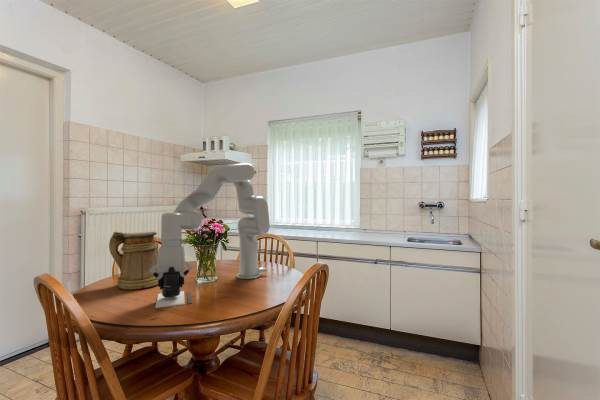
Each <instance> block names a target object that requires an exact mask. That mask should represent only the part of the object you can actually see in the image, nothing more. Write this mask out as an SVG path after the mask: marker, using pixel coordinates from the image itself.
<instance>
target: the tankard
mask: <svg viewBox="0 0 600 400" xmlns="http://www.w3.org/2000/svg"><path fill="white" fill-rule="evenodd" d="M156 235H158V234H157V232H156V231H144V232H122V231H114V232H113V233H112V234H111V237H110V240H109V244H108V248H109V252H110V254H111V257H112V258H113V260H114V262H115V263H116V264H117V266H118V269H119V272H120V274H119V276H118V278H117V287H118V288H119V289H120V290H139V289H140V290H142V289H146V288H152V287H154V286H158V279H157V278H156V277H155V276H154V275H153V274H152V273H151V272H150V271H149V270H150V268H152V267H153V266H154V265H155V264H156V263H157V262H158V253H157V247H158V244H157V241H156V238H155V237H154V236H156ZM120 245H122V246H121V251H122V253H121V252H120V250H119V246H120ZM154 270H155V272H157V273H158V274H159V273H160V272H158V269H157V268H156V269H154Z"/></svg>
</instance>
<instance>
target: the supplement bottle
mask: <svg viewBox="0 0 600 400" xmlns="http://www.w3.org/2000/svg"><path fill="white" fill-rule="evenodd" d="M168 271H169V272H166V273H163V275H162V289H161V293H162V296H163V297H176V296H178V295H179V294H180V292H181V287H180V277H181V274H180V272H179V271H178V272H176V270H175V269H174V267H170V268H169V269H168Z"/></svg>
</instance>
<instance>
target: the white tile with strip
mask: <svg viewBox="0 0 600 400" xmlns="http://www.w3.org/2000/svg"><path fill="white" fill-rule="evenodd" d="M186 295H187V297H186V298H187V305H192V304H193V300H192V299H193V298H192V291H191V290H188V291H186ZM182 305H183V306H184V305H185V291H181V290H180V294H179V295H178V296H176V297H163V296H162V292H161V293H158V294H157V299H156V303H155V309H158V308H165V307H166V308H167V307H175V306H182Z"/></svg>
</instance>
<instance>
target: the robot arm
mask: <svg viewBox="0 0 600 400" xmlns="http://www.w3.org/2000/svg"><path fill="white" fill-rule="evenodd" d="M255 173H256V171H255V167H254V165H252V164H251V163H249V162H243V163H229V164H222V165H221V164H220V165H219V164H218V165H214V166H212V167H211V168H210V169H209V170H208V171H207V173H206V175H205V176H204V177H203V179H202V180H201V182H200V184H199V185H198V186H197V188H195V190H194V191H192V192H191V193H190V194H188V195H187V196H186V197H184V198H183V199H182V200H181V201H180V203H179V204H178V205H177V206H176V208H175V209H174V210H173V212H164V213H162V215H161V219H160V221H161V225H160V226H161V230H160V231H161V233H160V234H161V236H160V237H161V240H160V242H161V243H160V245H161V246H159V247H158V253H157V257H158V262H157V263H156V264H155V265H154V266H153V267H152V268H150V270H149V271H150V272H151V273H152V274H153V275H154V276H155V277H156V278H157V279H158V284H157V287H158V288H159V290H161V291H162V275H163V273H166V272H169V271H168V269H169V268H170V267H174V269H175V270H176V272H178V271H179V272H180V274H181V277H180V288H183V285H185V277H186V276H187V275H188V274H189V272H191V270H192V269H193V265H192V264H191V263H190V262H188V261H186V256H185V255H186V254H185V248H184V247H185V246H184V245H183V244H186V239H183V237H182V235H183V231H182V230H190V231H191V230H192V231H193V230H197V229H199V227H201V225H202V223H203V218H202V216H201V214H200V213H198V212H194V211H195V210H196V209H197V208H199V207H200V206H203V205H205V204H208V203H210V202H212V201H213V200H215V197H216V195H217V194H218V192H219V191H220V190H221V188H222V186H223V185H224V184H233V185H234V187H235V190H236V194H237V196H236V197H237V204H238V211H239V212H240V213H241V214H244V215H246V216H242V217H241V218H240V219H239V220H238V222H237V230H238V237H239V265H238V267H239V268H238V269H239V272H238V273H236V278H238V279H240V280H241V279H242V280H252V279H253V278H254V279H257V277H258V278H259V277H261V275H262V274H261V273H266V272H267V267H259V264H258V259H259V240H258V238H257V236H259V237H260V236H261V237H262V236H265V235H267V234H268V233H269V231H270V213H269V205H268V202H267V200H266V198H264V197H263V196H261V195H260V196H259V195H255V191H254V188H253V183H252V182H251V180H252V179H253V178H254V177H255V175H256V174H255ZM247 215H252V216H247ZM253 215H254V216H253ZM186 267H187V268H186ZM156 268H157V269H158V272H160V273H159V274H158V273H157V272H155V270H154V269H156ZM185 268H186V269H185Z"/></svg>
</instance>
